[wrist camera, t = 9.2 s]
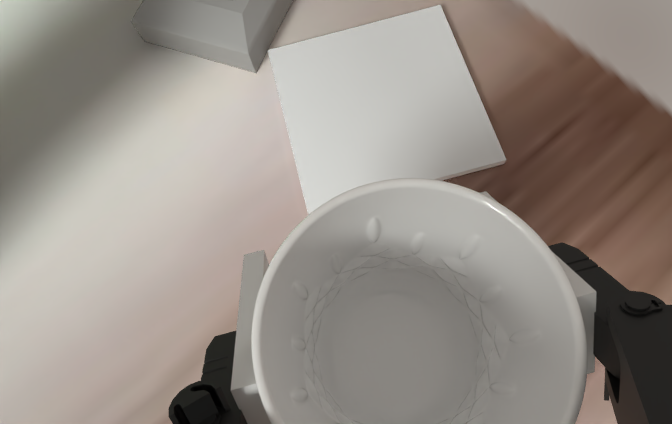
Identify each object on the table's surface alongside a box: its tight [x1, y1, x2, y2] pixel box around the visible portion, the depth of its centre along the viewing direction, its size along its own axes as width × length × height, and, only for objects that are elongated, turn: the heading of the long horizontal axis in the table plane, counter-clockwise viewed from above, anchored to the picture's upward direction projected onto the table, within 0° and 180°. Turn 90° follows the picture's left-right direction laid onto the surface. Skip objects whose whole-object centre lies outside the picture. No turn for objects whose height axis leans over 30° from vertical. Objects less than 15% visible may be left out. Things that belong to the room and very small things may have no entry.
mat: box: [268, 5, 506, 215], centre depth 32 cm, size 13×13×1 cm
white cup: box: [251, 178, 587, 424], centre depth 16 cm, size 8×8×10 cm
